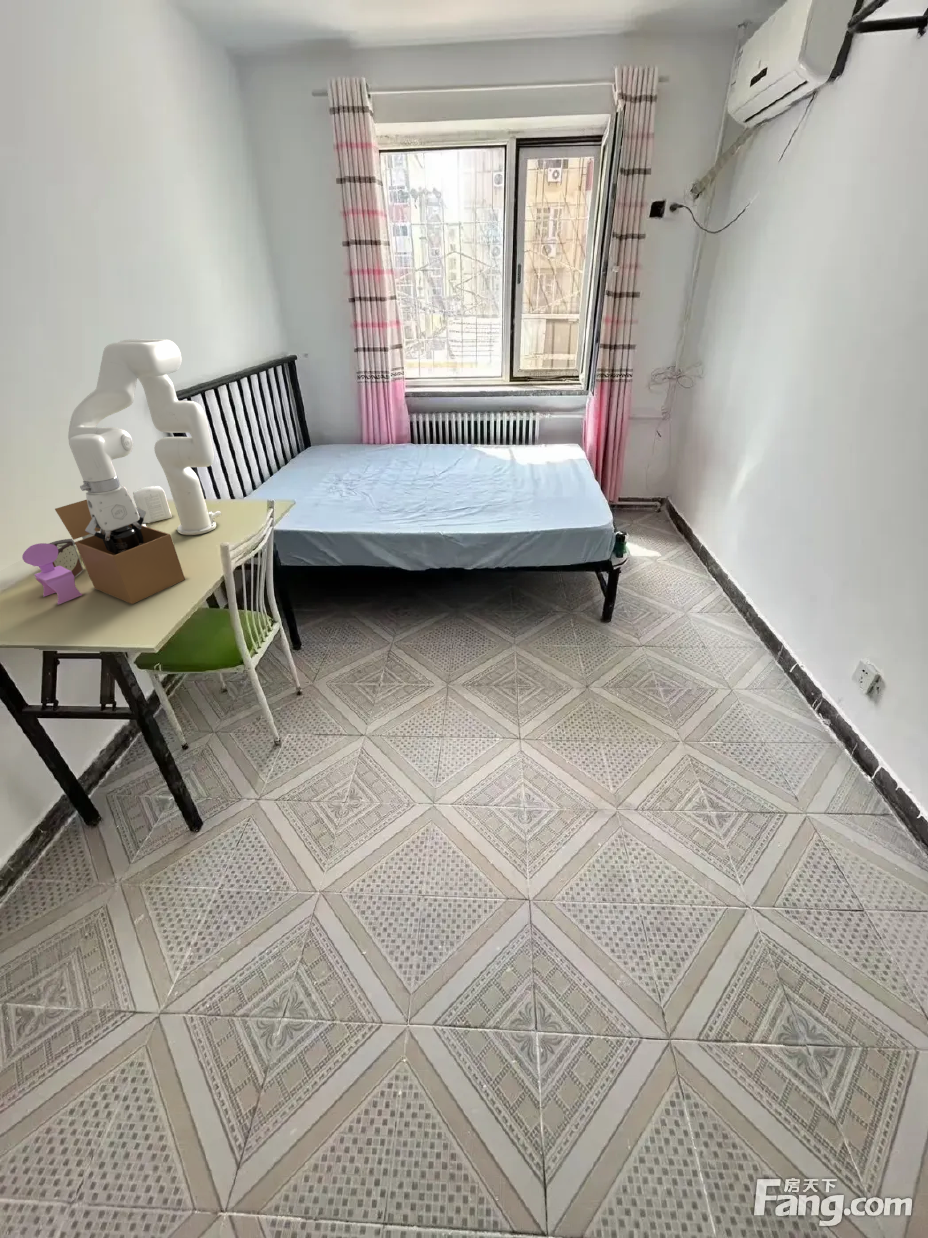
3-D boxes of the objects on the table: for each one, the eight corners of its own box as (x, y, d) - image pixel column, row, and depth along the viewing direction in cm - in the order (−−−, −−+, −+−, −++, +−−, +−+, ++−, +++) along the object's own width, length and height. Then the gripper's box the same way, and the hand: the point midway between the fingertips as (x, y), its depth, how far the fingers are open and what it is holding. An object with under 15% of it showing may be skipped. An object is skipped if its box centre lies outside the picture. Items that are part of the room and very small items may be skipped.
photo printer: (169, 514, 197) (159, 482, 190) (174, 517, 194) (163, 485, 187) (140, 521, 191) (128, 489, 184) (144, 525, 188) (132, 491, 181)
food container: (65, 568, 159) (51, 538, 154) (86, 568, 160) (73, 537, 154) (41, 588, 149) (25, 556, 143) (63, 587, 149) (48, 556, 144)
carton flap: (73, 539, 141) (73, 539, 141) (131, 519, 153) (130, 520, 153) (54, 508, 138) (54, 508, 138) (115, 491, 149) (114, 491, 150)
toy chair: (55, 606, 140) (29, 556, 132) (39, 598, 144) (14, 548, 136) (87, 593, 146) (65, 544, 138) (71, 585, 150) (48, 537, 142)
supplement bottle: (151, 557, 149) (136, 517, 142) (131, 567, 144) (115, 526, 137) (132, 553, 151) (117, 514, 144) (112, 563, 145) (95, 523, 139)
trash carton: (94, 588, 149) (74, 542, 141) (148, 565, 161) (132, 522, 153) (132, 604, 142) (113, 556, 134) (185, 579, 153) (170, 534, 146)
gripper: (76, 496, 127) (103, 562, 137) (143, 477, 140) (163, 538, 150) (59, 491, 131) (87, 556, 140) (126, 473, 143) (147, 533, 153)
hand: (126, 546), depth 145 cm, fingers closed on supplement bottle, 6 cm apart
